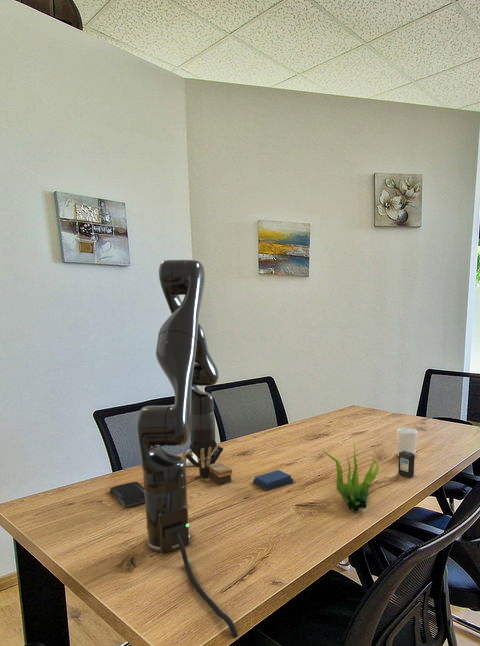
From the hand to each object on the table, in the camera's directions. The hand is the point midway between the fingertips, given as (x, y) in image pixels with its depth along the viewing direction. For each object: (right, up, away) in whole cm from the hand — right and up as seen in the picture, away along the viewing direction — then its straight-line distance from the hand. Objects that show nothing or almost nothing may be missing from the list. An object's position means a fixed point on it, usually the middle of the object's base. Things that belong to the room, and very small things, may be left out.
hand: (204, 477), depth 139 cm
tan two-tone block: (+3, -1, +3) cm, 5 cm away
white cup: (+69, +3, +26) cm, 74 cm away
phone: (-18, -3, -11) cm, 22 cm away
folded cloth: (+22, -1, -1) cm, 22 cm away
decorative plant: (+46, -3, -7) cm, 46 cm away
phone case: (-9, +2, +21) cm, 23 cm away
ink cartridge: (+66, -1, +6) cm, 66 cm away
